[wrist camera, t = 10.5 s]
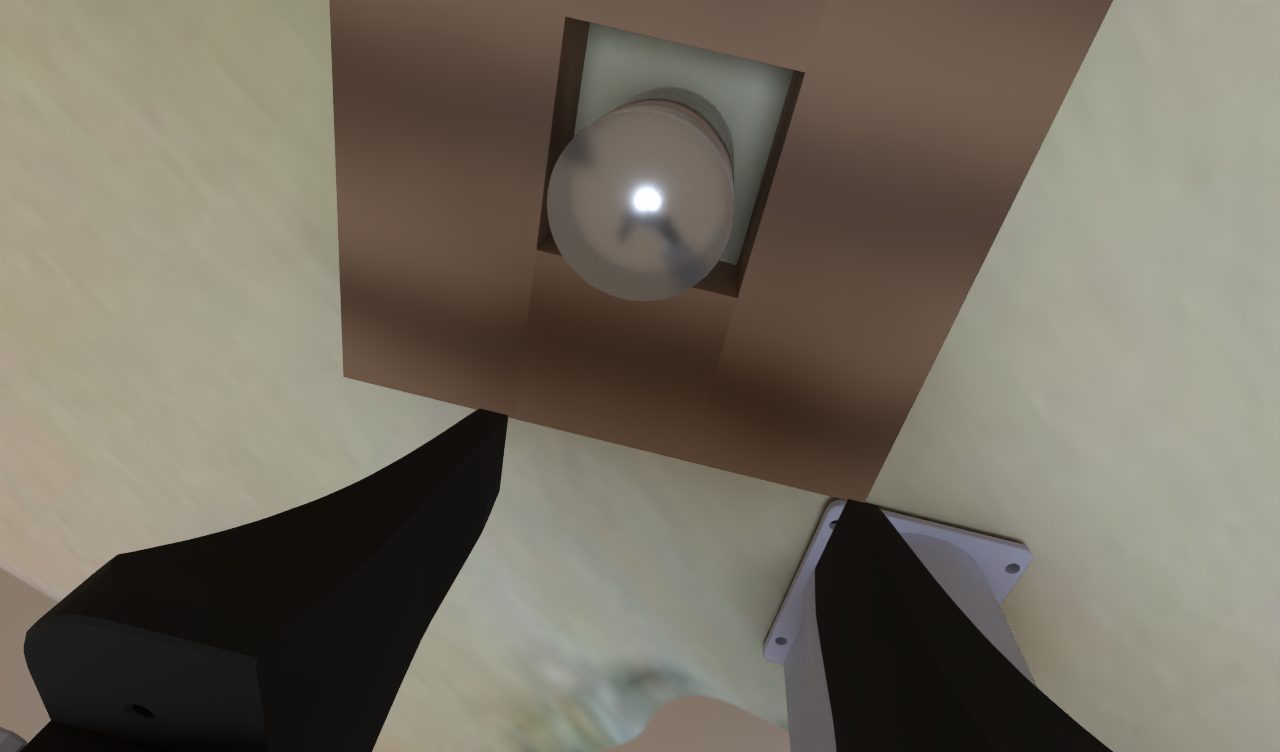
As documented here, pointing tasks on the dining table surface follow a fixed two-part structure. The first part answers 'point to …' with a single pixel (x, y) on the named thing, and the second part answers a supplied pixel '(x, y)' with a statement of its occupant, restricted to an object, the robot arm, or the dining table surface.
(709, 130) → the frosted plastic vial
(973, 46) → the dock block
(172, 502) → the dining table surface
